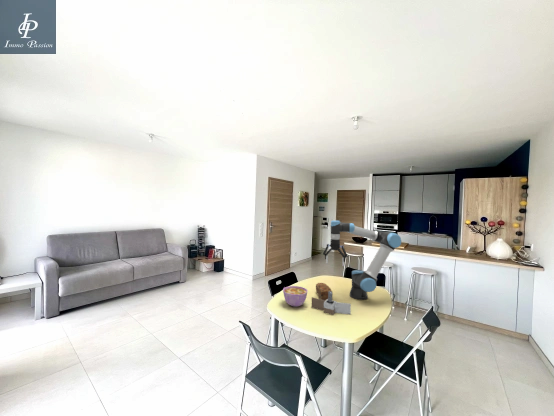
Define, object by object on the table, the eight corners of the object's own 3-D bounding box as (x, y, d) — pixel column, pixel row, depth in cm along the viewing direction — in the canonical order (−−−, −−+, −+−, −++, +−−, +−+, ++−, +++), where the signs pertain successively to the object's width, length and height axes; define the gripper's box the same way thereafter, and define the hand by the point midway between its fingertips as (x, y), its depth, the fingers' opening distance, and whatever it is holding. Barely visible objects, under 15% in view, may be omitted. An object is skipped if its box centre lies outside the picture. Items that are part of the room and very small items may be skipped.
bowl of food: (290, 297, 187) (291, 284, 188) (311, 303, 176) (311, 289, 176) (277, 305, 171) (278, 290, 171) (299, 312, 160) (300, 296, 160)
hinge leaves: (314, 304, 174) (314, 295, 174) (351, 313, 159) (351, 303, 159) (309, 308, 166) (310, 299, 166) (347, 319, 151) (348, 308, 151)
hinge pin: (328, 310, 163) (328, 290, 164) (332, 311, 162) (332, 291, 162) (327, 312, 161) (327, 292, 161) (331, 313, 159) (331, 292, 160)
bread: (315, 292, 201) (315, 281, 201) (326, 292, 201) (326, 282, 201) (320, 300, 182) (320, 289, 182) (332, 300, 183) (333, 289, 183)
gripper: (319, 238, 182) (319, 263, 182) (349, 240, 169) (349, 267, 169) (322, 237, 189) (322, 261, 188) (351, 239, 176) (351, 265, 175)
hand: (334, 264), depth 178 cm, fingers open, 13 cm apart
